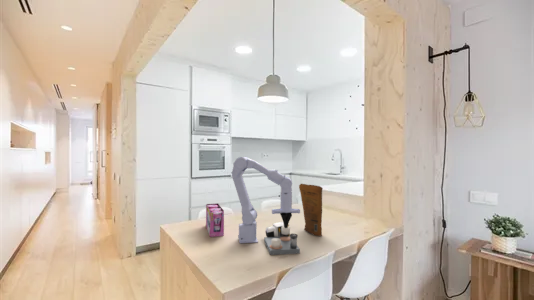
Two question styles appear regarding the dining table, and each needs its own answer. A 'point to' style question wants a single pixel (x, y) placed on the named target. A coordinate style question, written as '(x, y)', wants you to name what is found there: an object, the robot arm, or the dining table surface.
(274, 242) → the knob
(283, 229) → the knob
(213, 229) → the gum box
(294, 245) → the pot post
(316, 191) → the pancake mix bag
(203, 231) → the dining table surface
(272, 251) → the mount board
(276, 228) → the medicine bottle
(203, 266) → the dining table surface
